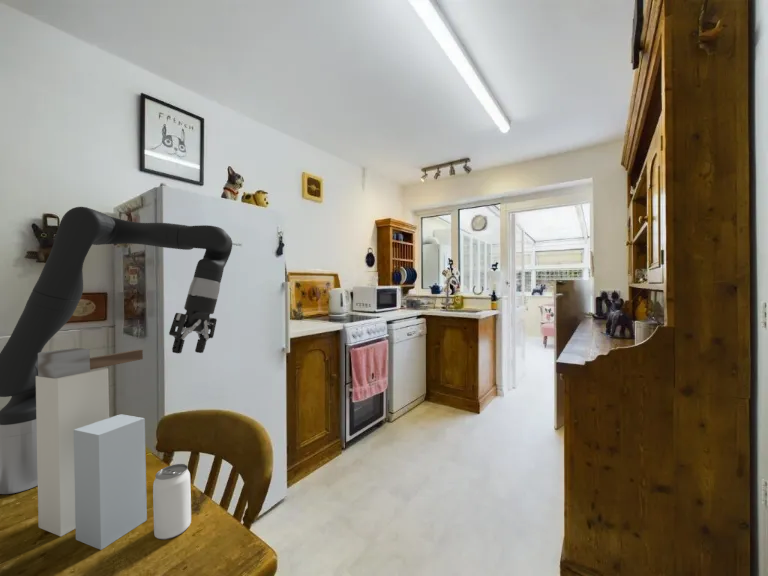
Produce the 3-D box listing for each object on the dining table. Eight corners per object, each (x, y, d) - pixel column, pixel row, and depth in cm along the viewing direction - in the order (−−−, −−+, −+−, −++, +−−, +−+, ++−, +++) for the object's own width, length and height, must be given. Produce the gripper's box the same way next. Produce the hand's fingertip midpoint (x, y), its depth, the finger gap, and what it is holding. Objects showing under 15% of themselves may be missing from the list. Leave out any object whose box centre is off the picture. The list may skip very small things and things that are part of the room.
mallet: (38, 376, 69) (37, 352, 69) (132, 358, 86) (132, 339, 86) (54, 378, 67) (54, 354, 67) (147, 359, 84) (147, 340, 84)
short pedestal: (75, 539, 65) (73, 429, 65) (122, 512, 73) (120, 414, 73) (101, 549, 62) (98, 435, 62) (146, 520, 70) (144, 418, 70)
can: (173, 542, 64) (172, 481, 64) (145, 538, 65) (144, 478, 65) (198, 519, 70) (197, 464, 70) (172, 516, 71) (171, 461, 71)
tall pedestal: (38, 527, 69) (35, 376, 69) (89, 501, 77) (86, 366, 77) (60, 536, 66) (57, 379, 66) (111, 508, 74) (108, 368, 75)
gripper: (208, 297, 100) (194, 350, 98) (172, 289, 87) (155, 350, 84) (229, 301, 99) (216, 354, 97) (197, 293, 85) (180, 355, 83)
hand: (188, 352), depth 90 cm, fingers open, 8 cm apart
